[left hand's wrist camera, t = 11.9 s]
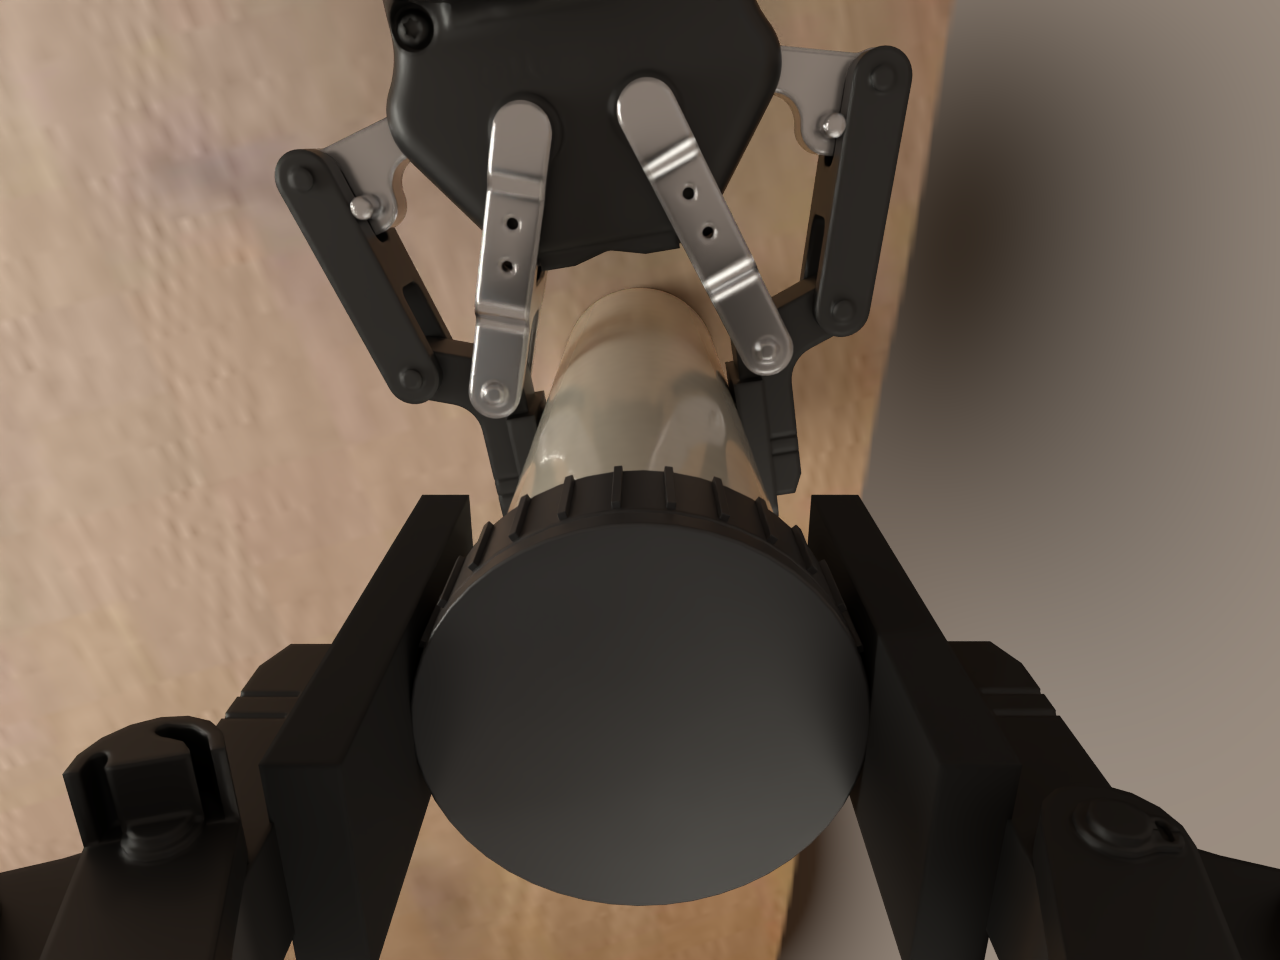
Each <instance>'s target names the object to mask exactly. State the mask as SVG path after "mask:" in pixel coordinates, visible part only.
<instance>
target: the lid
mask: <svg viewBox="0 0 1280 960" xmlns="http://www.w3.org/2000/svg"><path fill="white" fill-rule="evenodd" d="M419 647H421V648H424V649H423V651H422V654H421V657H420V660H419V663H418V667H417V670H416V673H415V676H414V681H413V688H412V695H411V703H410V708H411V723H412V732H413V741H414V749H415V755H416V758H417V761H418V763H419V766H420V769H421V772H422V775H423V778H424V780H425V782H426V784H427V786H428V788H429V790H430V792H431V794H432V796H433V798H434V800H435V801H436V803H437V804H438V806H439V807H440V808H441V810H442V811H443V813H444V814H445V816H446V817H447V818H448V820H449V821H450V822H451V823H452V825H453V826H454V827H455V828H456V829H457V830H458V831H459V832H460V833H461V834H462V835H463V836H464V838H465V839H466V840H467V841H468V842H470V843H471V844H472V845H473V846H474V847H476V848H477V849H478V850H479V851H480V852H482V853H483V854H484V855H485V856H486V857H488V858H489V859H491V860H492V861H494V862H495V863H497V864H498V865H500V866H501V867H503V868H504V869H506V870H507V871H509V872H511V873H513V874H515V875H517V876H519V877H521V878H523V879H525V880H527V881H529V882H531V883H533V884H535V885H538V886H541V887H543V888H546V889H548V890H551V891H554V892H556V893H560V894H563V895H567V896H571V897H575V898H578V899H582V900H587V901H594V902H600V903H606V904H615V905H632V906H646V905H667V904H674V903H681V902H688V901H694V900H698V899H702V898H707V897H711V896H715V895H719V894H722V893H724V892H727V891H730V890H733V889H736V888H738V887H741V886H744V885H746V884H748V883H750V882H752V881H754V880H756V879H759V878H761V877H763V876H765V875H767V874H769V873H770V872H772V871H774V870H775V869H777V868H778V867H780V866H781V865H783V864H785V863H786V862H788V861H789V860H791V859H792V858H793V857H795V856H796V855H797V854H798V853H800V852H801V851H802V850H803V849H805V848H806V847H807V846H808V845H810V844H811V843H812V842H813V841H814V840H815V839H816V838H817V837H818V836H819V835H820V834H821V832H822V831H823V830H824V829H825V828H826V827H827V826H828V825H829V824H830V823H831V821H832V820H833V819H834V817H835V816H836V815H837V813H838V812H839V811H840V809H841V808H842V806H843V805H844V803H845V802H846V800H847V798H848V796H849V794H850V793H851V791H852V789H853V787H854V785H855V783H856V781H857V778H858V776H859V773H860V770H861V768H862V765H863V762H864V760H865V754H866V746H867V738H868V729H869V719H870V710H871V701H870V691H869V683H868V679H867V676H866V672H865V668H864V665H863V661H862V658H861V655H860V653H861V652H864V648H863V645H862V642H861V640H860V638H859V636H858V633H857V631H856V629H855V626H854V624H853V622H852V620H851V617H850V615H849V613H848V610H847V608H846V606H845V603H844V601H843V599H842V596H841V594H840V592H839V590H838V587H837V585H836V583H835V580H834V578H833V576H832V574H831V571H830V569H829V567H828V565H827V563H826V561H825V560H824V559H823V560H821V561H820V562H818V560H817V559H816V557H815V556H814V554H813V553H812V551H811V550H810V548H809V547H808V545H807V543H806V541H805V538H804V536H803V533H802V531H801V529H800V528H799V527H798V526H797V525H795V526H794V527H792V528H791V527H789V526H788V525H787V524H786V523H785V522H784V521H782V520H781V519H780V518H779V517H778V516H777V515H776V514H774V513H773V512H771V511H770V510H768V507H767V504H766V502H765V500H764V499H762V498H761V497H758V498H757V499H756V500H753V499H752V498H750V497H747V496H745V495H743V494H741V493H739V492H737V491H735V490H733V489H731V488H729V487H727V486H724V485H723V483H722V479H721V478H718V477H715V476H714V477H713V480H712V481H709V480H706V479H703V478H699V477H694V476H689V475H684V474H679V473H674V472H673V467H670V466H665V467H664V471H650V470H634V471H623V467H622V466H614V472H609V473H603V474H597V475H591V476H586V477H583V478H580V479H576V480H575V479H574V477H573V475H570V476H566V477H565V479H564V483H563V484H560V485H558V486H555V487H553V488H551V489H549V490H547V491H544V492H542V493H540V494H538V495H535V496H534V497H532V498H530V497H529V495H528V494H526V495H524V496H522V497H521V498H520V501H519V504H518V506H517V507H516V508H514V509H513V510H511V511H510V512H509V513H507V514H506V515H505V516H504V517H503V518H501V519H500V520H499V521H498V522H496V523H495V524H494V525H493V524H492V523H491V522H487V523H486V524H485V525H484V527H483V529H482V532H481V534H480V537H479V539H478V542H477V543H476V544H475V545H474V546H473V548H472V549H471V551H470V552H469V553H468V555H467V556H466V558H464V557H462V556H461V555H460V556H459V557H458V558H457V560H456V562H455V564H454V567H453V569H452V571H451V574H450V576H449V578H448V581H447V583H446V585H445V587H444V590H443V592H442V594H440V596H439V599H438V601H437V603H436V605H435V608H434V610H433V612H432V615H431V617H430V619H429V621H428V624H427V626H426V628H425V631H424V633H423V635H422V638H421V640H420V643H419Z"/></svg>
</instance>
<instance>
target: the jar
mask: <svg viewBox="0 0 1280 960" xmlns="http://www.w3.org/2000/svg"><path fill="white" fill-rule="evenodd" d="M614 466H622V467H623V471H634V470H650V471H664V467H665V466H670V467H673V472H674V473H679V474H684V475H689V476H694V477H699V478H703V479H706V480H709V481H712V480H713V477H714V476H715V477H718V478H721V479H722V483H723V485H724V486H727V487H729V488H731V489H733V490H735V491H737V492H739V493H741V494H743V495H745V496H747V497H750V498H752V499H753V500H756V499H757V498H758V497H761V498H762V499H764V500H765V502H766V504H767V507H768V510H770V511H771V512H773V510H772V508H771V505H770V502H769V499H768V496H767V494H766V491H765V488H764V485H763V482H762V479H761V477H760V474H759V471H758V468H757V465H756V463H755V460H754V457H753V454H752V451H751V449H750V446H749V443H748V440H747V437H746V434H745V432H744V429H743V426H742V423H741V420H740V418H739V415H738V412H737V409H736V406H735V404H734V401H733V398H732V395H731V392H730V389H729V387H728V384H727V381H726V378H725V375H724V373H723V370H722V367H721V364H720V361H719V359H718V356H717V353H716V350H715V347H714V344H713V342H712V339H711V336H710V334H709V332H708V329H707V327H706V326H705V324H704V322H703V321H702V319H701V318H700V317H699V315H698V314H697V313H696V312H695V311H694V310H693V309H692V308H691V307H690V306H689V305H688V304H686V303H685V302H684V301H682V300H681V299H679V298H677V297H675V296H673V295H671V294H669V293H666V292H663V291H660V290H656V289H651V288H630V289H624V290H620V291H617V292H614V293H611V294H609V295H607V296H605V297H603V298H601V299H600V300H598V301H597V302H595V303H594V304H593V305H591V306H590V307H589V308H588V309H587V310H586V311H585V312H584V313H583V314H582V316H581V317H580V318H579V320H578V321H577V323H576V324H575V326H574V328H573V330H572V332H571V334H570V337H569V340H568V342H567V345H566V348H565V351H564V354H563V357H562V360H561V362H560V365H559V368H558V371H557V374H556V377H555V379H554V382H553V385H552V388H551V391H550V394H549V397H548V399H547V402H546V405H545V408H544V411H543V414H542V416H541V419H540V422H539V425H538V428H537V431H536V434H535V436H534V439H533V442H532V445H531V448H530V451H529V454H528V456H527V459H526V462H525V465H524V468H523V471H522V473H521V476H520V479H519V482H518V485H517V488H516V491H515V493H514V496H513V499H512V502H511V505H510V508H509V510H508V513H509V512H510V511H511V510H513V509H514V508H516V507H517V506H518V504H519V501H520V498H521V497H522V496H524V495H526V494H528V495H529V497H530V498H532V497H534V496H535V495H538V494H540V493H542V492H544V491H547V490H549V489H551V488H553V487H555V486H558V485H560V484H563V483H564V479H565V477H566V476H570V475H573V477H574V479H575V480H576V479H580V478H583V477H586V476H591V475H597V474H603V473H609V472H614Z"/></svg>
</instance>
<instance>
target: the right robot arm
mask: <svg viewBox="0 0 1280 960" xmlns="http://www.w3.org/2000/svg"><path fill="white" fill-rule="evenodd" d="M383 3H384V8H385V12H386V16H387V20H388V24H389V28H390V32H391V36H392V41H393V49H394V69H393V77H392V82H391V87H390V90H389V94H388V98H387V106H386V114H387V117H386V118H384V119H382V120H380V121H378V122H376V123H374V124H372V125H370V126H368V127H366V128H364V129H362V130H360V131H358V132H356V133H354V134H352V135H350V136H348V137H346V138H344V139H342V140H340V141H338V142H336V143H334V144H332V145H330V146H328V147H326V148H322V149H297V150H292V151H289V152H287V153H286V154H284V155H283V156H282V157H281V158H280V159H279V161H278V163H277V165H276V169H275V182H276V185H277V188H278V190H279V192H280V194H281V196H282V197H283V199H284V201H285V203H286V205H287V206H288V208H289V210H290V212H291V214H292V215H293V217H294V219H295V221H296V222H297V224H298V226H299V228H300V230H301V231H302V233H303V235H304V237H305V239H306V240H307V242H308V244H309V246H310V247H311V249H312V251H313V253H314V255H315V256H316V258H317V260H318V262H319V264H320V265H321V267H322V269H323V271H324V272H325V274H326V276H327V278H328V280H329V281H330V283H331V285H332V287H333V289H334V290H335V292H336V294H337V296H338V297H339V299H340V301H341V303H342V305H343V306H344V308H345V310H346V312H347V314H348V315H349V317H350V319H351V321H352V322H353V324H354V326H355V328H356V330H357V331H358V333H359V335H360V337H361V338H362V340H363V342H364V344H365V346H366V347H367V349H368V351H369V353H370V355H371V356H372V358H373V360H374V362H375V363H376V365H377V367H378V369H379V371H380V372H381V374H382V376H383V378H384V380H385V381H386V383H387V385H388V387H389V388H390V390H391V392H392V393H393V394H394V395H395V396H396V397H397V398H398V399H400V400H402V401H403V402H406V403H410V404H420V403H424V402H426V401H428V400H432V401H437V402H443V403H448V404H454V405H458V406H461V407H463V408H465V409H467V410H468V411H470V412H471V413H472V414H473V415H474V416H475V417H476V418H477V420H478V421H479V423H480V425H481V428H482V431H483V435H484V439H485V443H486V447H487V451H488V456H489V460H490V464H491V468H492V472H493V476H494V479H495V485H496V489H497V493H498V495H499V501H500V506H501V510H502V514H503V517H504V516H505V515H506V514H507V513H508V510H509V508H510V505H511V502H512V499H513V496H514V493H515V491H516V488H517V485H518V482H519V479H520V476H521V473H522V471H523V468H524V465H525V462H526V459H527V456H528V454H529V451H530V448H531V445H532V442H533V439H534V436H535V434H536V431H537V428H538V425H539V422H540V419H541V416H542V414H543V411H544V408H545V405H546V399H545V394H544V391H538V392H534V388H533V383H532V379H531V375H532V370H533V362H534V355H535V348H536V340H537V333H538V326H539V318H540V311H541V306H542V302H543V297H544V292H545V286H546V279H547V271H548V270H552V269H558V268H564V267H570V266H576V265H578V264H580V263H582V262H584V261H586V260H589V259H591V258H593V257H595V256H597V255H599V254H601V253H604V252H606V251H610V250H613V251H623V252H633V253H643V254H647V253H653V252H659V251H665V250H671V249H677V248H680V246H679V243H682V245H683V247H684V249H685V251H686V253H687V255H688V257H689V259H690V261H691V263H692V265H693V267H694V269H695V271H696V272H697V274H698V276H699V278H700V280H701V282H702V284H703V286H704V288H705V290H706V292H707V294H708V295H709V297H710V299H711V301H712V303H713V305H714V307H715V309H716V311H717V313H718V314H719V316H720V318H721V320H722V322H723V324H724V326H725V328H726V330H727V332H728V334H729V336H730V339H731V347H732V354H733V361H730V362H725V364H726V371H727V379H728V386H729V389H730V392H731V395H732V398H733V401H734V404H735V406H736V409H737V412H738V415H739V418H740V420H741V423H742V426H743V429H744V432H745V434H746V437H747V440H748V443H749V446H750V449H751V451H752V454H753V457H754V460H755V463H756V465H757V468H758V471H759V474H760V477H761V479H762V482H763V485H764V488H765V491H766V494H767V496H768V499H769V502H770V505H771V508H772V510H773V513H774V514H776V515H777V516H779V514H778V503H777V495H783V494H790V493H795V491H796V488H797V485H798V482H799V478H800V475H801V467H800V457H799V450H798V449H799V448H798V438H797V429H796V419H795V410H794V400H793V391H792V378H791V377H792V371H793V368H794V366H795V363H796V362H797V360H798V359H799V357H800V356H801V355H802V354H803V353H804V352H806V351H807V350H809V349H810V348H812V347H814V346H816V345H817V344H819V343H821V342H823V341H825V340H827V339H829V338H831V337H832V336H836V337H845V336H849V335H852V334H854V333H856V332H857V331H858V330H860V329H861V328H862V327H863V326H864V324H865V323H866V321H867V319H868V316H869V312H870V306H871V301H872V296H873V290H874V285H875V279H876V274H877V268H878V263H879V257H880V252H881V246H882V241H883V235H884V230H885V224H886V219H887V214H888V208H889V203H890V197H891V192H892V186H893V181H894V175H895V170H896V164H897V159H898V153H899V148H900V142H901V137H902V131H903V126H904V121H905V115H906V110H907V104H908V99H909V93H910V88H911V82H912V68H911V64H910V61H909V59H908V58H907V56H906V55H905V54H904V53H903V52H902V51H901V50H900V49H898V48H896V47H892V46H879V47H874V48H869V49H866V50H863V51H861V52H858V53H850V52H839V51H829V50H819V49H809V48H799V47H788V46H780V43H779V40H778V37H777V35H776V33H775V31H774V29H773V27H772V25H771V24H770V23H769V21H768V20H767V18H766V17H765V15H764V14H763V12H762V11H761V9H760V7H759V5H758V3H757V1H756V0H383ZM773 95H775V96H777V97H780V98H781V99H783V100H784V101H785V102H786V103H787V104H788V105H789V107H790V108H791V110H792V113H793V116H794V132H795V137H796V140H797V142H798V143H799V145H800V146H801V147H802V148H803V149H804V150H805V151H807V152H809V153H812V154H816V155H819V158H818V164H817V171H816V177H815V184H814V190H813V197H812V204H811V210H810V217H809V223H808V230H807V237H806V243H805V250H804V256H803V263H802V269H801V276H800V282H798V283H796V284H795V285H793V286H791V287H789V288H787V289H785V290H784V291H782V292H780V293H778V294H776V295H775V296H773V297H771V296H770V294H769V292H768V290H767V288H766V286H765V284H764V282H763V280H762V278H761V276H760V273H759V271H758V269H757V266H756V263H755V261H754V259H753V257H752V255H751V253H750V251H749V249H748V247H747V244H746V242H745V240H744V238H743V236H742V234H741V232H740V230H739V228H738V226H737V224H736V222H735V220H734V218H733V216H732V214H731V212H730V210H729V208H728V206H727V204H726V202H725V200H724V198H723V196H722V195H723V193H724V191H725V189H726V187H727V185H728V183H729V181H730V179H731V177H732V175H733V173H734V171H735V169H736V167H737V165H738V163H739V161H740V159H741V158H742V156H743V154H744V152H745V150H746V148H747V146H748V144H749V142H750V140H751V138H752V136H753V134H754V132H755V130H756V128H757V126H758V124H759V122H760V120H761V118H762V116H763V114H764V112H765V110H766V108H767V107H768V105H769V103H770V101H771V99H772V97H773ZM409 162H412V163H413V164H414V165H415V166H416V167H417V168H418V169H419V170H420V171H421V172H422V173H423V174H424V175H425V176H426V177H427V178H428V179H429V180H430V181H431V182H432V183H433V184H434V185H435V186H436V187H438V188H439V189H440V190H441V191H442V192H443V193H444V194H445V195H446V196H447V197H448V198H449V199H450V200H451V201H452V202H453V203H454V204H455V205H456V206H457V207H458V208H459V209H460V210H461V211H462V212H464V213H465V214H466V215H467V216H468V217H469V218H470V219H471V220H472V221H473V222H474V223H475V224H476V225H477V226H478V227H479V228H480V229H481V230H482V231H483V233H482V242H481V251H480V260H479V269H478V279H477V288H476V297H475V315H476V329H475V338H474V344H473V343H468V342H463V341H457V340H453V339H452V337H451V335H450V333H449V331H448V329H447V327H446V325H445V324H444V322H443V320H442V318H441V316H440V314H439V312H438V310H437V308H436V306H435V304H434V302H433V301H432V299H431V297H430V295H429V293H428V291H427V289H426V287H425V285H424V283H423V281H422V279H421V278H420V276H419V274H418V272H417V270H416V268H415V266H414V264H413V262H412V260H411V258H410V257H409V255H408V253H407V251H406V249H405V247H404V245H403V243H402V241H401V239H400V237H399V235H398V234H397V232H396V230H395V228H394V227H396V226H398V225H399V224H400V223H401V222H402V221H403V219H404V217H405V215H406V211H407V201H406V197H405V194H404V191H403V187H402V176H403V172H404V170H405V168H406V166H407V165H408V163H409Z"/></svg>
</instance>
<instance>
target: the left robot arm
mask: <svg viewBox="0 0 1280 960" xmlns="http://www.w3.org/2000/svg"><path fill="white" fill-rule="evenodd" d="M808 547H809V548H810V550H811V551H812V553H813V554H814V556H815V557H816V559H817V560H818V562H820V561H821V560H823V559H824V560H825V561H826V563H827V565H828V567H829V569H830V571H831V574H832V576H833V578H834V580H835V583H836V585H837V587H838V590H839V592H840V594H841V596H842V599H843V601H844V603H845V606H846V608H847V610H848V613H849V615H850V617H851V620H852V622H853V624H854V626H855V629H856V631H857V633H858V636H859V638H860V640H861V642H862V645H863V648H864V652H861V653H860V655H861V658H862V661H863V665H864V668H865V672H866V676H867V679H868V683H869V691H870V701H871V710H870V719H869V729H868V738H867V746H866V754H865V760H864V762H863V765H862V768H861V770H860V773H859V776H858V778H857V781H856V783H855V785H854V787H853V789H852V791H851V793H850V794H849V795H850V798H851V801H852V804H853V808H854V811H855V814H856V817H857V820H858V823H859V827H860V830H861V833H862V836H863V839H864V842H865V846H866V849H867V852H868V855H869V858H870V861H871V864H872V868H873V871H874V874H875V877H876V880H877V883H878V887H879V890H880V893H881V896H882V899H883V902H884V905H885V909H886V912H887V915H888V918H889V921H890V924H891V928H892V931H893V934H894V937H895V940H896V943H897V946H898V950H899V953H900V956H901V959H902V960H984V959H985V953H986V949H987V943H988V938H990V941H991V943H992V945H993V947H994V950H995V952H996V954H997V957H998V959H999V960H1280V869H1277V868H1273V867H1268V866H1264V865H1260V864H1255V863H1251V862H1246V861H1242V860H1238V859H1233V858H1229V857H1224V856H1220V855H1217V854H1213V853H1210V852H1206V851H1203V850H1200V849H1197V847H1196V845H1195V844H1194V842H1193V841H1192V839H1191V838H1190V836H1189V835H1188V833H1187V832H1186V830H1185V829H1184V827H1183V826H1182V825H1181V824H1180V823H1178V822H1177V821H1176V820H1175V819H1173V818H1172V817H1171V816H1170V815H1169V814H1167V813H1166V812H1165V811H1164V810H1162V809H1161V808H1160V807H1158V806H1156V805H1154V804H1152V803H1150V802H1148V801H1146V800H1144V799H1142V798H1141V797H1139V796H1137V795H1135V794H1133V793H1130V792H1126V791H1123V790H1119V789H1116V788H1112V787H1111V786H1110V784H1109V783H1108V782H1107V780H1106V779H1105V778H1104V776H1103V775H1102V773H1101V772H1100V771H1099V769H1098V768H1097V767H1096V765H1095V764H1094V762H1093V761H1092V760H1091V758H1090V757H1089V755H1088V754H1087V753H1086V751H1085V750H1084V749H1083V747H1082V746H1081V744H1080V743H1079V742H1078V740H1077V739H1076V738H1075V736H1074V735H1073V733H1072V732H1071V731H1070V729H1069V728H1068V726H1067V725H1066V724H1065V722H1064V721H1063V720H1062V718H1061V717H1060V716H1056V710H1055V709H1054V707H1053V706H1052V704H1051V703H1050V702H1049V700H1048V699H1047V697H1046V696H1045V695H1044V694H1041V693H1040V688H1039V686H1038V685H1037V684H1036V682H1035V681H1034V680H1033V678H1032V677H1031V675H1030V674H1029V673H1028V671H1027V670H1026V669H1025V667H1024V666H1023V664H1022V663H1021V662H1019V661H1018V660H1016V659H1015V658H1013V657H1012V656H1010V655H1009V654H1008V653H1006V652H1005V651H1003V650H1002V649H1000V648H999V647H998V646H996V645H995V644H993V643H992V642H990V641H947V640H946V638H945V637H944V635H943V633H942V632H941V630H940V629H939V627H938V625H937V624H936V622H935V620H934V619H933V617H932V615H931V614H930V612H929V611H928V609H927V607H926V606H925V604H924V602H923V601H922V599H921V597H920V596H919V594H918V592H917V591H916V589H915V587H914V586H913V584H912V582H911V581H910V579H909V578H908V576H907V574H906V573H905V571H904V569H903V568H902V566H901V564H900V563H899V561H898V559H897V558H896V556H895V555H894V553H893V551H892V550H891V548H890V546H889V545H888V543H887V541H886V540H885V538H884V536H883V535H882V533H881V532H880V530H879V528H878V527H877V525H876V523H875V522H874V520H873V518H872V517H871V515H870V513H869V512H868V510H867V509H866V507H865V505H864V504H863V502H862V500H861V499H860V497H859V495H811V508H810V521H809V534H808ZM472 548H473V540H472V527H471V514H470V501H469V495H422V496H421V498H420V500H419V501H418V503H417V504H416V506H415V508H414V509H413V511H412V513H411V514H410V516H409V518H408V519H407V521H406V523H405V524H404V526H403V527H402V529H401V531H400V532H399V534H398V536H397V537H396V539H395V541H394V542H393V544H392V546H391V547H390V549H389V550H388V552H387V554H386V555H385V557H384V559H383V560H382V562H381V564H380V565H379V567H378V569H377V570H376V572H375V574H374V575H373V577H372V578H371V580H370V582H369V583H368V585H367V587H366V588H365V590H364V592H363V593H362V595H361V597H360V598H359V600H358V601H357V603H356V605H355V606H354V608H353V610H352V611H351V613H350V615H349V616H348V618H347V620H346V621H345V623H344V624H343V626H342V628H341V629H340V631H339V633H338V634H337V636H336V638H335V639H334V641H333V643H332V644H290V645H289V646H287V647H286V648H285V649H283V650H282V651H280V652H279V653H277V654H276V655H275V656H273V657H272V658H270V659H269V660H267V661H266V662H264V663H263V664H262V665H260V666H259V667H258V669H257V670H256V671H255V673H254V674H253V676H252V677H251V678H250V680H249V681H248V683H247V684H246V685H245V687H244V688H243V690H242V691H241V696H240V697H237V698H236V699H235V701H234V702H233V703H232V705H231V706H230V708H229V709H228V710H227V712H226V716H225V719H221V720H220V721H219V723H218V724H217V726H215V725H214V724H213V723H212V722H211V721H208V720H204V719H200V718H195V717H191V716H176V717H160V718H156V719H152V720H148V721H144V722H140V723H136V724H132V725H129V726H127V727H125V728H123V729H120V730H118V731H116V732H114V733H112V734H109V735H107V736H105V737H103V738H101V739H99V740H98V741H97V742H95V743H94V744H92V745H91V746H90V747H88V748H87V749H85V750H84V751H83V752H81V753H80V754H78V755H77V756H76V758H75V759H74V760H73V761H72V763H71V764H70V765H69V767H68V768H67V769H66V770H65V772H64V773H63V774H62V775H63V778H64V782H65V785H66V788H67V792H68V795H69V799H70V802H71V805H72V809H73V812H74V815H75V819H76V822H77V825H78V829H79V832H80V836H81V839H82V842H83V846H84V849H83V851H82V853H80V854H76V855H73V856H70V857H66V858H63V859H59V860H55V861H50V862H46V863H41V864H37V865H33V866H28V867H24V868H19V869H15V870H11V871H6V872H2V873H0V960H284V958H285V955H286V953H287V951H288V949H289V946H290V944H291V942H292V941H293V946H294V951H295V956H296V960H379V958H380V954H381V951H382V948H383V945H384V942H385V939H386V935H387V932H388V929H389V926H390V923H391V920H392V917H393V913H394V910H395V907H396V904H397V901H398V898H399V895H400V891H401V888H402V885H403V882H404V879H405V876H406V872H407V869H408V866H409V863H410V860H411V857H412V854H413V850H414V847H415V844H416V841H417V838H418V835H419V831H420V828H421V825H422V822H423V819H424V816H425V813H426V809H427V806H428V803H429V800H430V797H431V792H430V790H429V788H428V786H427V784H426V782H425V780H424V778H423V775H422V772H421V769H420V766H419V763H418V761H417V758H416V755H415V749H414V741H413V732H412V723H411V708H410V703H411V695H412V688H413V681H414V676H415V673H416V670H417V667H418V663H419V660H420V657H421V654H422V651H423V649H424V648H421V647H419V643H420V640H421V638H422V635H423V633H424V631H425V628H426V626H427V624H428V621H429V619H430V617H431V615H432V612H433V610H434V608H435V605H436V603H437V601H438V599H439V596H440V594H442V592H443V590H444V587H445V585H446V583H447V581H448V578H449V576H450V574H451V571H452V569H453V567H454V564H455V562H456V560H457V558H458V557H459V556H460V555H461V556H462V557H464V558H466V556H467V555H468V553H469V552H470V551H471V549H472Z"/></svg>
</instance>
